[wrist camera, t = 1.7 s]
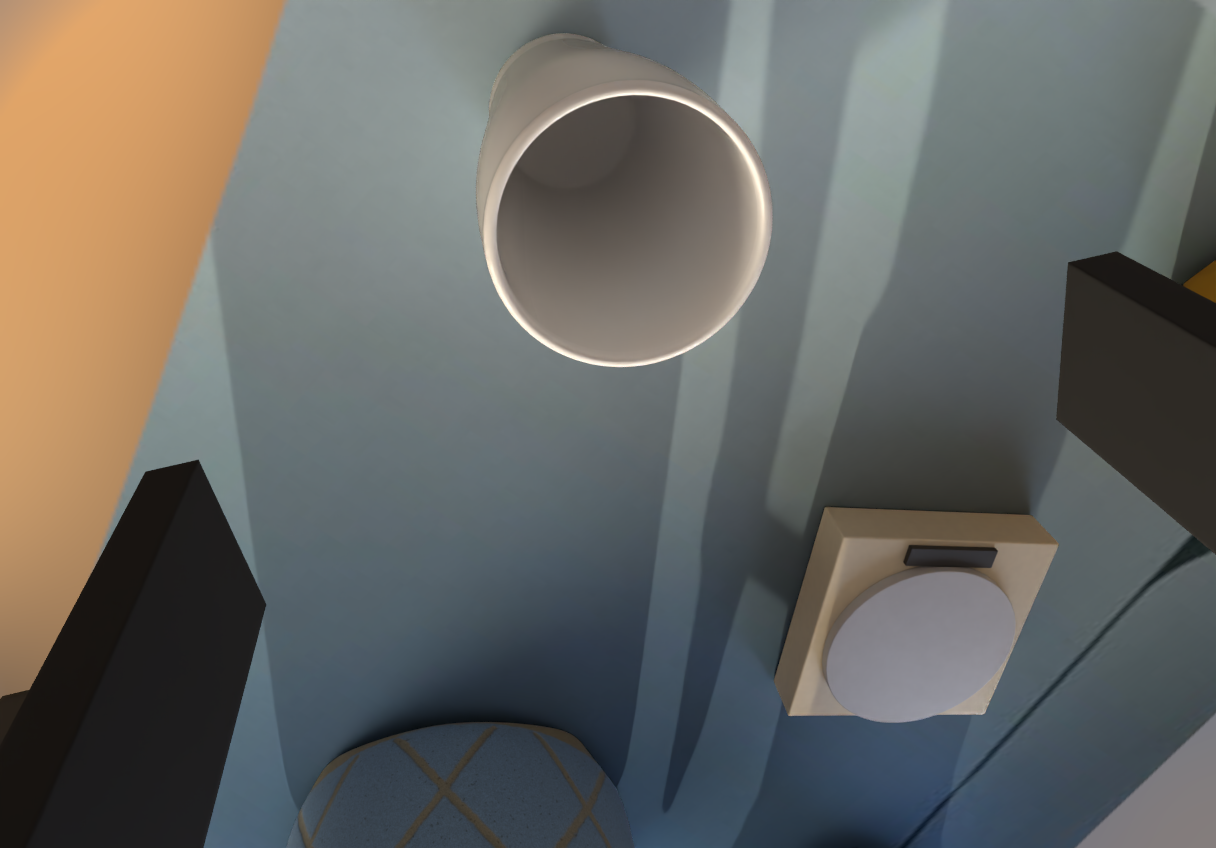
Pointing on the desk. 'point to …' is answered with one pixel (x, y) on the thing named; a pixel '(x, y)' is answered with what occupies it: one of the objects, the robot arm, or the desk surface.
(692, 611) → the desk surface
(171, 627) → the robot arm
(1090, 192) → the desk surface
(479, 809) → the planter
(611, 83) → the drinking glass
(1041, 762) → the desk surface
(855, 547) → the scale
